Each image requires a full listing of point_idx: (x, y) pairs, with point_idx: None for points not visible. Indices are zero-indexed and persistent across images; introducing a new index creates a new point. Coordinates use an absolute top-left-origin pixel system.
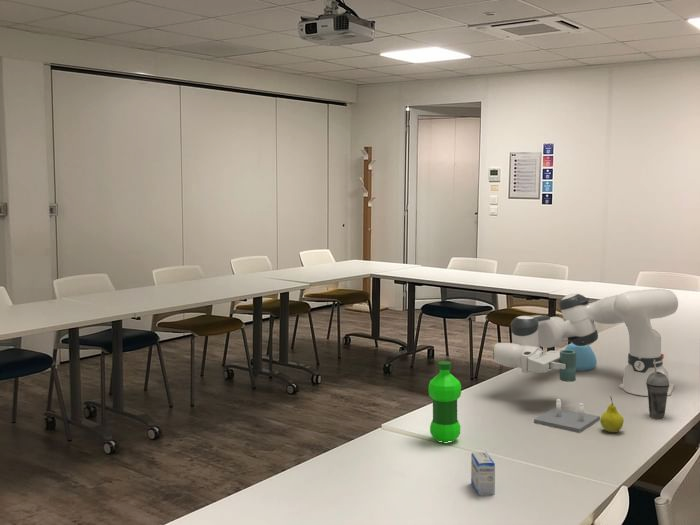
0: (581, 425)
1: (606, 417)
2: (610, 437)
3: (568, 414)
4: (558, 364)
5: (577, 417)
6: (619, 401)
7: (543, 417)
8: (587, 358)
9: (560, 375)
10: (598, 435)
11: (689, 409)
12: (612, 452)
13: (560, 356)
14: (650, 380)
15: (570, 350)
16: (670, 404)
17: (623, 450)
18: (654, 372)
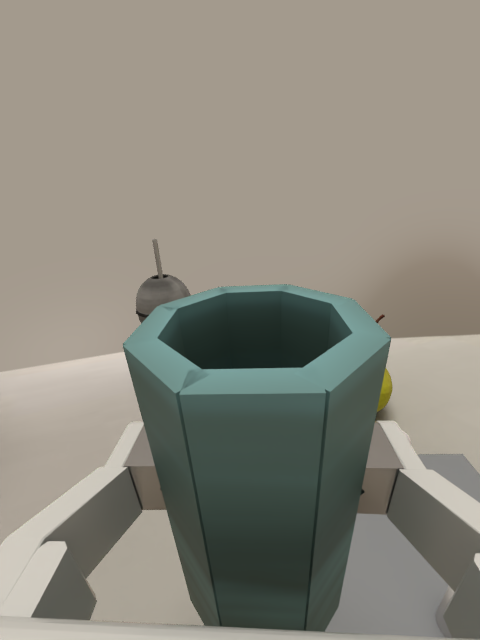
0: (429, 464)
1: (388, 372)
2: (392, 396)
3: (374, 580)
4: (451, 496)
5: (369, 517)
6: (29, 491)
7: None
8: None
9: (324, 615)
10: (412, 418)
11: (99, 360)
12: (462, 369)
13: (347, 447)
14: (182, 296)
15: (153, 323)
16: (62, 386)
17: (428, 362)
18: (159, 278)
